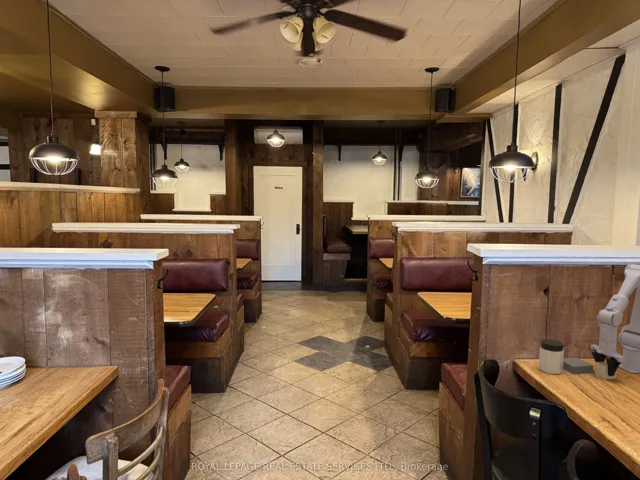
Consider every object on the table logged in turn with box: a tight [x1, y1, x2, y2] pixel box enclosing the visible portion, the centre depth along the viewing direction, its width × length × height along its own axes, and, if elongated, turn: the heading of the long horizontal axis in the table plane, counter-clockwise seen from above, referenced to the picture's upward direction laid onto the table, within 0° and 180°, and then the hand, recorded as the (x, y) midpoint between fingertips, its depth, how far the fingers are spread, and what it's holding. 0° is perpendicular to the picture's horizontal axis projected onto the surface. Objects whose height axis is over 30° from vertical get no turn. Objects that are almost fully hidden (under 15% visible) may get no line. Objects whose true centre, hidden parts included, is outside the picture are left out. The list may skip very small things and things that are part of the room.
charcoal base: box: [563, 356, 594, 375], centre depth 174 cm, size 9×9×4 cm
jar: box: [538, 338, 565, 375], centre depth 173 cm, size 9×8×12 cm
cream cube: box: [594, 361, 618, 380], centre depth 167 cm, size 5×5×5 cm
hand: (605, 372), depth 167 cm, fingers closed on cream cube, 5 cm apart
